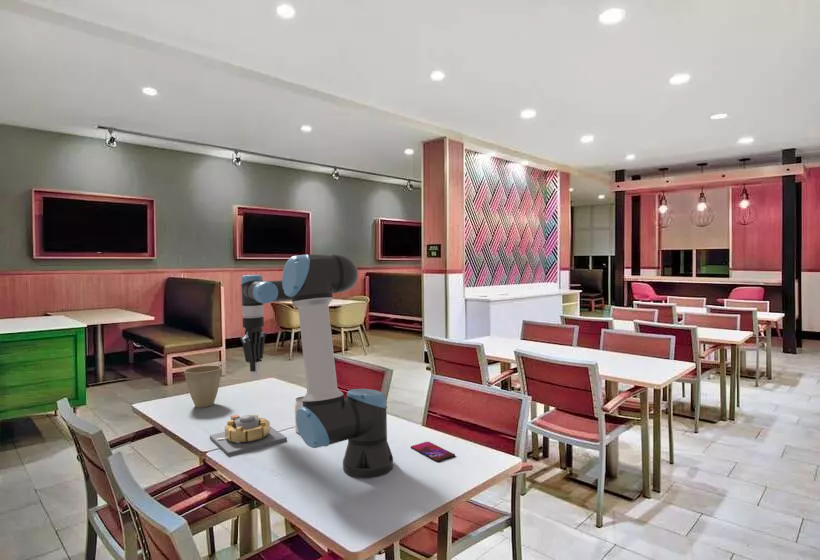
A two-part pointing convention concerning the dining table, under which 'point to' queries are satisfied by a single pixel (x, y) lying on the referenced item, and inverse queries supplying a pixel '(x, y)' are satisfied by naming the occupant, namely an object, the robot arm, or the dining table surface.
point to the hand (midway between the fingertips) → (255, 379)
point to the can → (297, 405)
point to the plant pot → (203, 384)
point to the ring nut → (243, 434)
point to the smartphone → (433, 451)
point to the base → (241, 447)
